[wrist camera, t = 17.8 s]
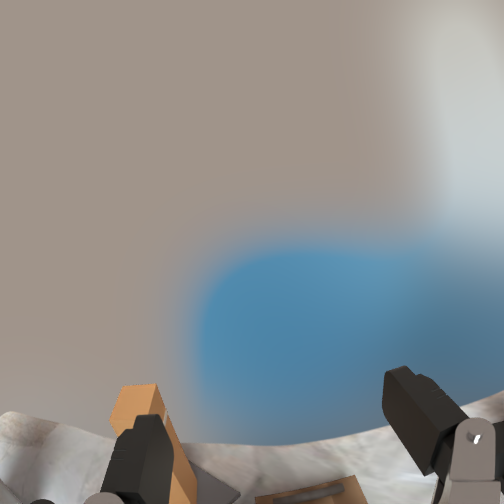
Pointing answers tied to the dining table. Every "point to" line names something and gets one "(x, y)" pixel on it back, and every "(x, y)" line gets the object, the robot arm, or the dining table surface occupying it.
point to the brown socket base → (320, 494)
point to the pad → (212, 488)
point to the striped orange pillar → (150, 402)
